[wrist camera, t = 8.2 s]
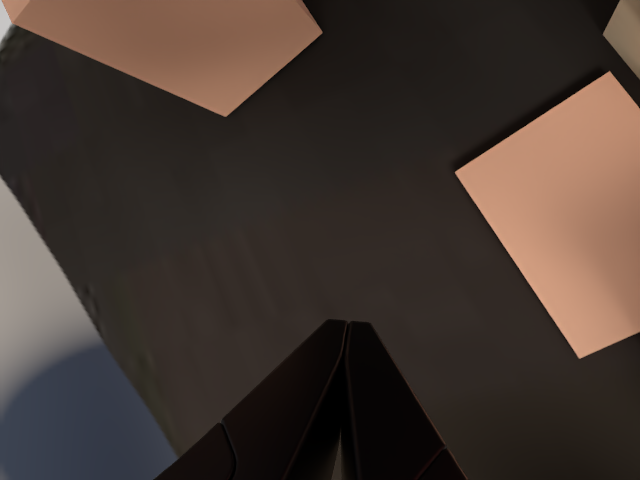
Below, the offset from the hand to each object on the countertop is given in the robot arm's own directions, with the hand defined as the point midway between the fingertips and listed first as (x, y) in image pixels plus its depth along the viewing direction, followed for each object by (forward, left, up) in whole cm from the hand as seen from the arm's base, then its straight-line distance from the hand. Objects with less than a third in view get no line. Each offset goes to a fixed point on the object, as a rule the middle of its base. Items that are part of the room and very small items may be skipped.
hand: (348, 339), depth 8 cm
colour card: (+2, -6, -10) cm, 12 cm away
